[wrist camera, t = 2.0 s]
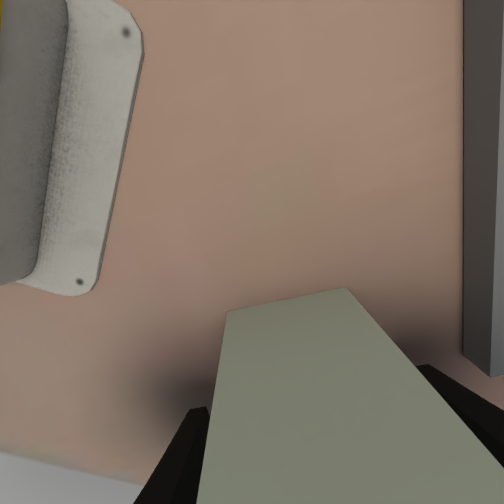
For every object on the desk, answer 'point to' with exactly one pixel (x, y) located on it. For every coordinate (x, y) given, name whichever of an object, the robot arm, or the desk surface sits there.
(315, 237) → the desk surface
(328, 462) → the block
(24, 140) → the emergency button
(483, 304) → the rail board
